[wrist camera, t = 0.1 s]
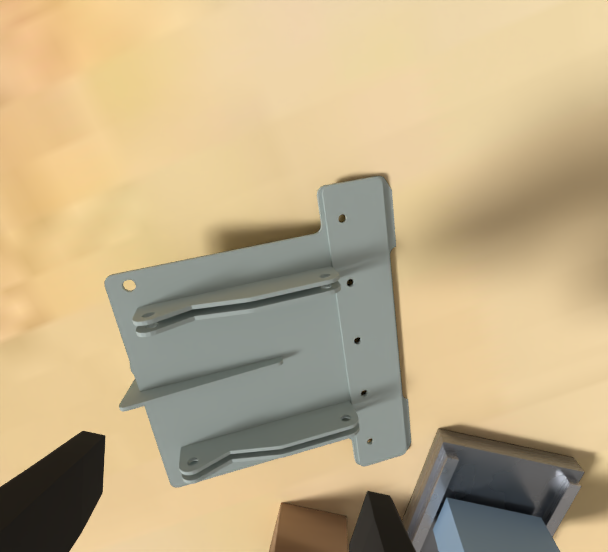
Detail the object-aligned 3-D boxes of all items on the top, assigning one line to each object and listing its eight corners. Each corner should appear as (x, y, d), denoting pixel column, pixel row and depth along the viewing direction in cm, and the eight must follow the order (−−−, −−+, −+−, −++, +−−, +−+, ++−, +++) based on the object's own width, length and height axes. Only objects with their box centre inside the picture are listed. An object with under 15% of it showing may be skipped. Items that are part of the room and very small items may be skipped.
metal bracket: (161, 558, 18) (45, 243, 14) (172, 466, 24) (91, 218, 19) (444, 468, 21) (429, 171, 16) (396, 403, 26) (373, 168, 22)
